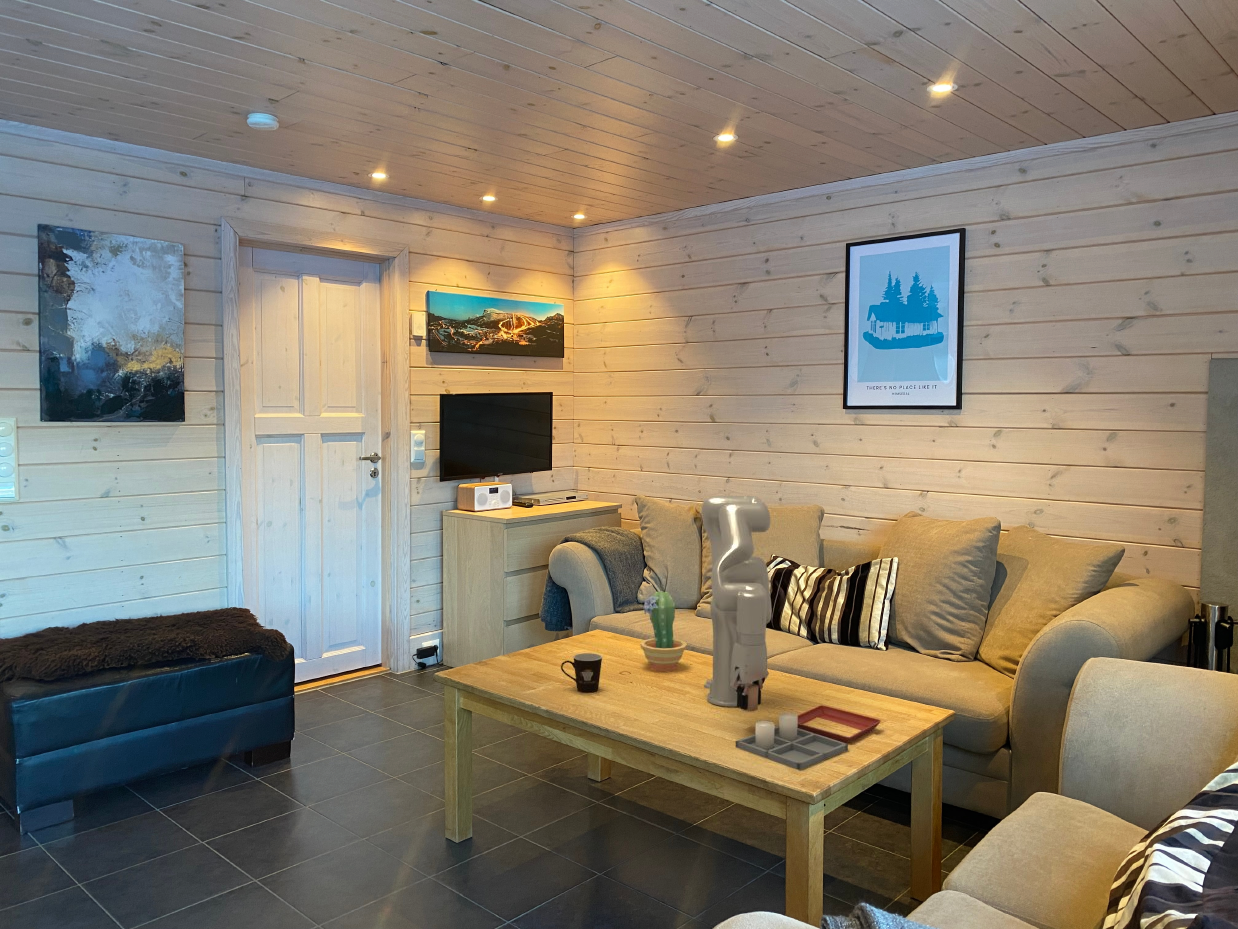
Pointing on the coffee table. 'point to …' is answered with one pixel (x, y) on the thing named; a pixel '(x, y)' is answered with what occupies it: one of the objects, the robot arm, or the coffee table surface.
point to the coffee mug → (586, 671)
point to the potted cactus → (662, 634)
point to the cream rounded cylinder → (788, 726)
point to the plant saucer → (838, 717)
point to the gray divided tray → (796, 749)
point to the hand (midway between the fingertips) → (748, 705)
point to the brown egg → (752, 697)
